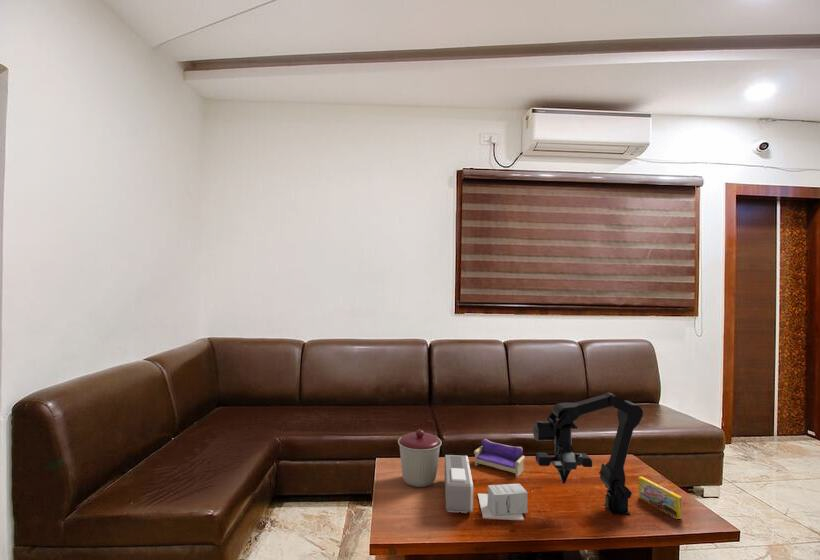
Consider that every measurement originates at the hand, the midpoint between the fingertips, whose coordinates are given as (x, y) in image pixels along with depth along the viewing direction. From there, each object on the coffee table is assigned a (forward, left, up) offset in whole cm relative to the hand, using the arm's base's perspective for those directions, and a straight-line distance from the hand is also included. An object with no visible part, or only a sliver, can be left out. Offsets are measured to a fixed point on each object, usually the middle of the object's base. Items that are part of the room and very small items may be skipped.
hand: (563, 483), depth 147 cm
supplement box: (+14, +1, -5) cm, 15 cm away
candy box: (-36, -4, -10) cm, 38 cm away
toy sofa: (+18, -33, -10) cm, 39 cm away
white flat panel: (+23, 0, -10) cm, 25 cm away
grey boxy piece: (+38, -6, -10) cm, 40 cm away
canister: (+53, -17, -10) cm, 56 cm away
